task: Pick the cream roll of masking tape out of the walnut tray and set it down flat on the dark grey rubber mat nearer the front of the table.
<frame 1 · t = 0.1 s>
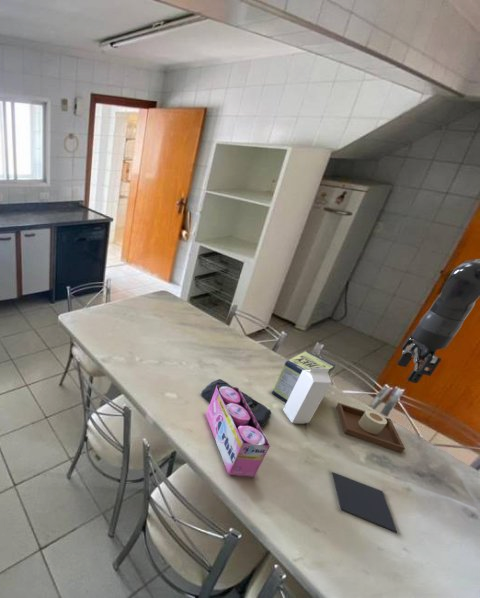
hand: (406, 373, 99), 27 cm above the table, tool pointing down, fingers open, 8 cm apart
protein box: (294, 395, 127), on the table
gum box: (227, 443, 104), on the table
milk: (295, 417, 117), on the table
black pouch: (234, 405, 120), on the table
masking tape: (368, 427, 114), point 1 cm above the table, touching tray
tray: (365, 429, 114), on the table
mat: (361, 500, 90), on the table
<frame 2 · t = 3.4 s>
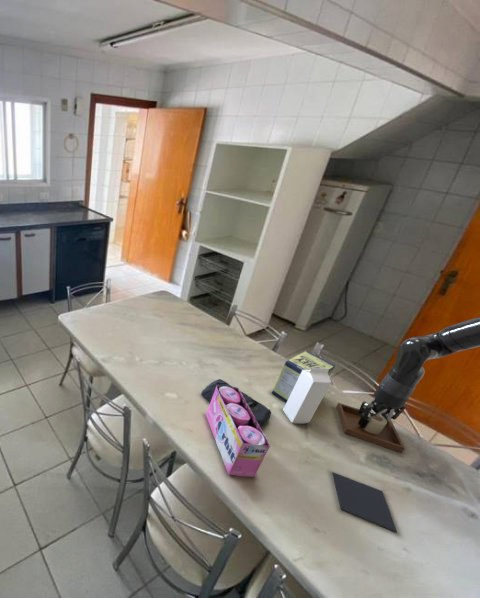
hand: (369, 426, 113), 1 cm above the table, tool pointing down, fingers closed on masking tape, 6 cm apart
masking tape: (368, 427, 114), point 1 cm above the table, touching gripper, tray
everything else where it was.
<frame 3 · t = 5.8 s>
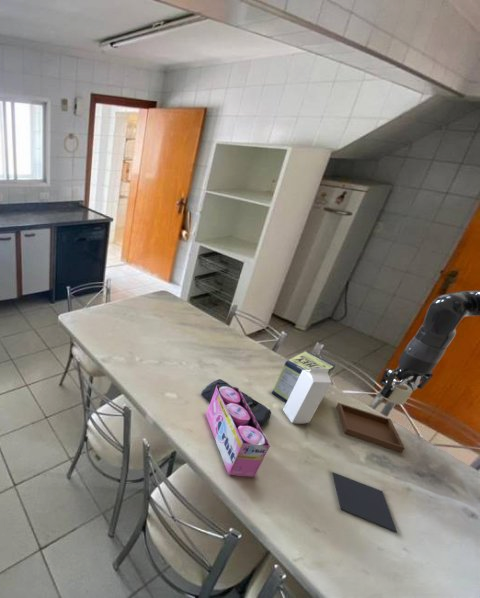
hand: (393, 396, 105), 17 cm above the table, tool pointing down, fingers closed on masking tape, 6 cm apart
masking tape: (392, 397, 105), point 16 cm above the table, touching gripper
everything else where it was.
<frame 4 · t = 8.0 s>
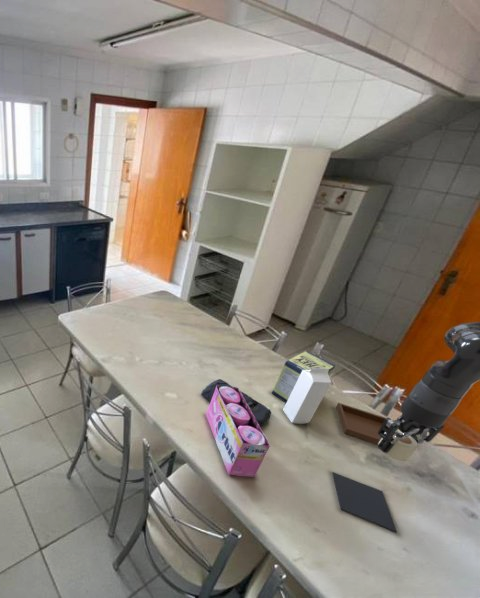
hand: (393, 449, 85), 17 cm above the table, tool pointing down, fingers closed on masking tape, 6 cm apart
masking tape: (392, 451, 85), point 17 cm above the table, touching gripper
everything else where it was.
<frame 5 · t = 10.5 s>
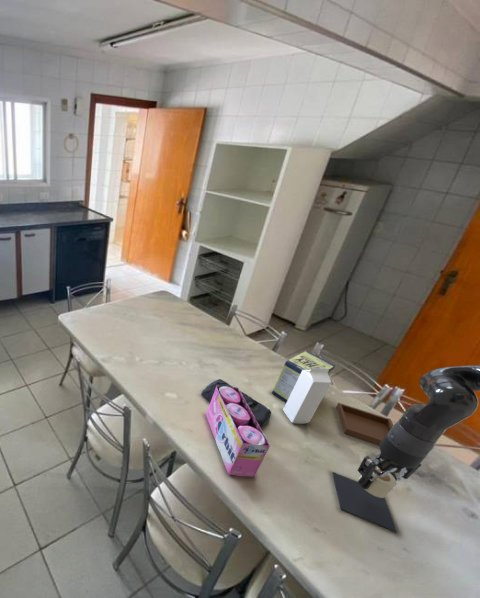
hand: (373, 485, 87), 7 cm above the table, tool pointing down, fingers closed on masking tape, 6 cm apart
masking tape: (372, 486, 88), point 6 cm above the table, touching gripper
everything else where it was.
when the fingers open (1 cm above the table, at t = 12.4 s): masking tape stays where it is, resting on mat.
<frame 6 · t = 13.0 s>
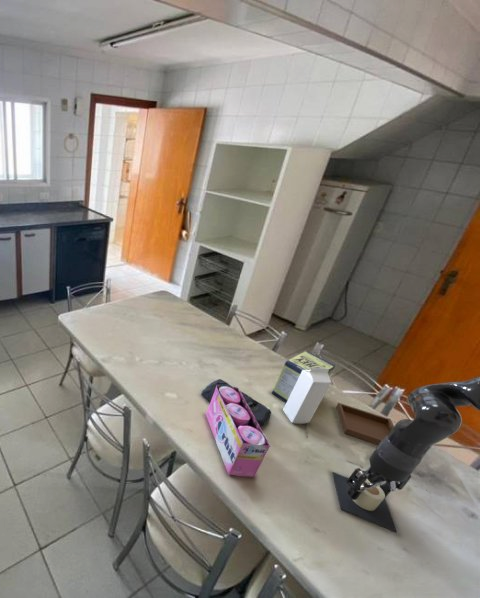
hand: (365, 496, 90), 2 cm above the table, tool pointing down, fingers open, 8 cm apart
masking tape: (362, 499, 90), resting on mat
everything else where it was.
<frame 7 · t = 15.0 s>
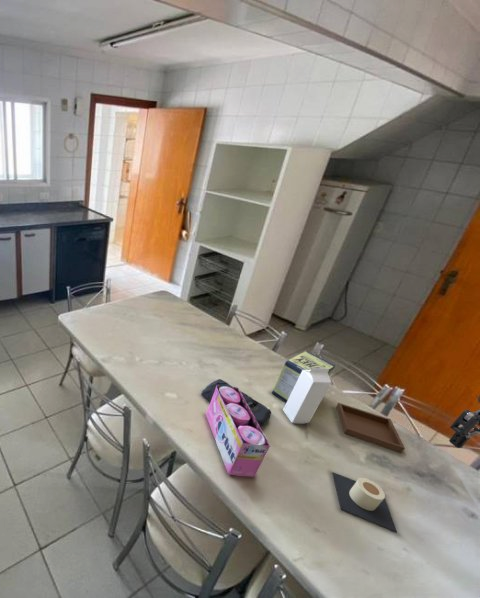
hand: (470, 444, 79), 25 cm above the table, tool pointing down, fingers open, 8 cm apart
nothing on the table moved.
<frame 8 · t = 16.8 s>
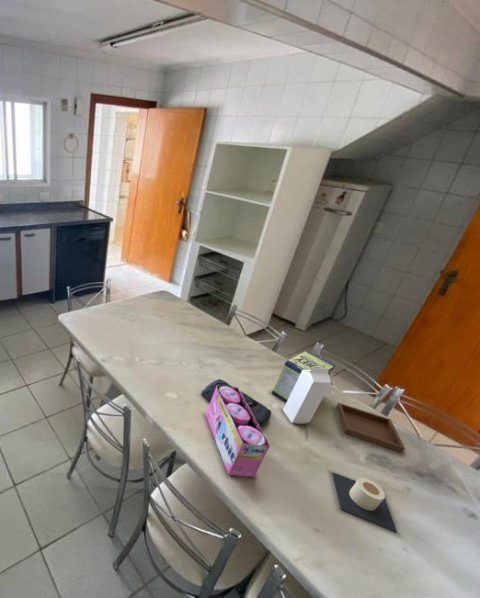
nothing on the table moved.
at the end: masking tape inside the target area on the mat (0.1 cm from its centre), point 0.4 cm above the mat's base; masking tape tilted 0°; masking tape touching mat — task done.
